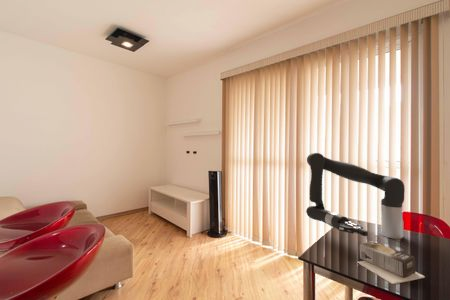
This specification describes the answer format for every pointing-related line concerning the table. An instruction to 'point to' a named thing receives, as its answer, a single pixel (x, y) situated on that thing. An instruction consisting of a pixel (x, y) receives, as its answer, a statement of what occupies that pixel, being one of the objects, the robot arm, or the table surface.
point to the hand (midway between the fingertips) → (366, 234)
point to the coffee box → (388, 258)
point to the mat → (389, 273)
